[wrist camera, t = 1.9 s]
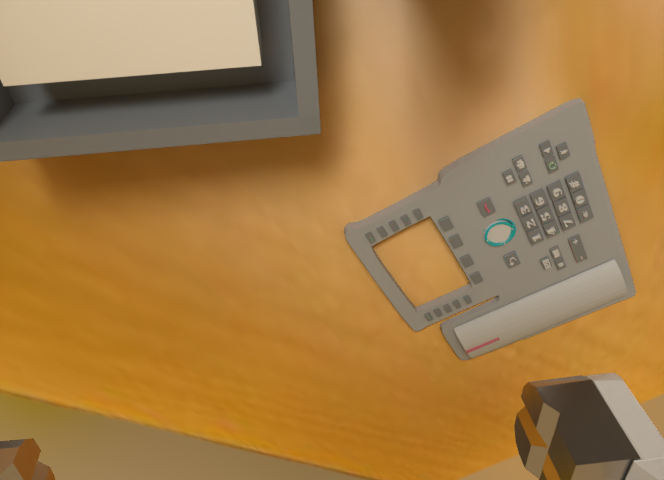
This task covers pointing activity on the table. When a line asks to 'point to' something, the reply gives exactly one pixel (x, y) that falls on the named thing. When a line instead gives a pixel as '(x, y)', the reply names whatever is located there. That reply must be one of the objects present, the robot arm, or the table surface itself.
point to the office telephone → (513, 235)
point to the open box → (153, 74)
